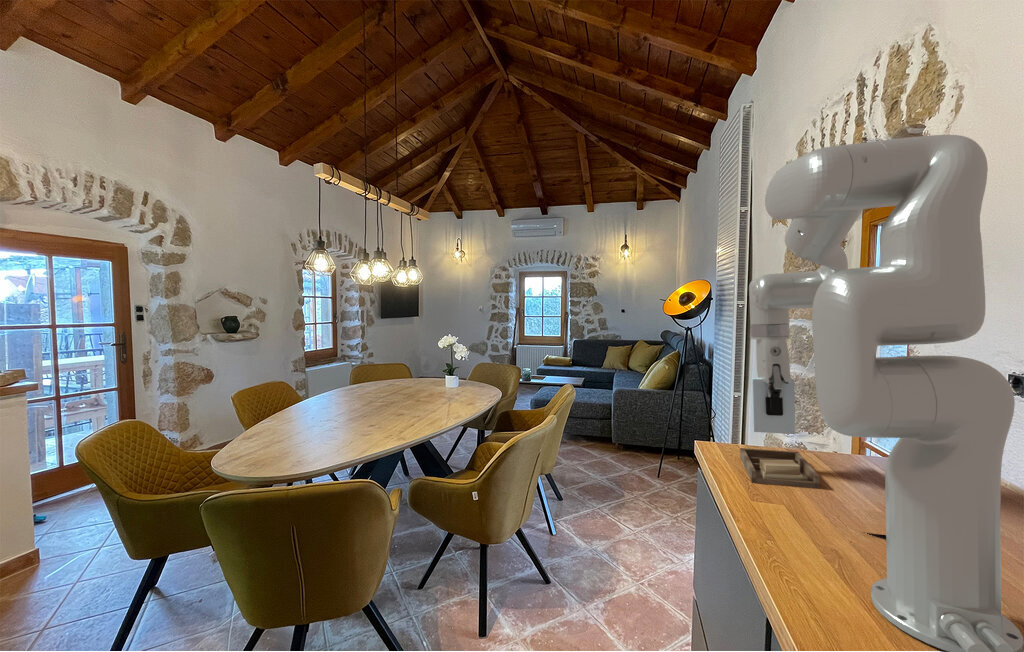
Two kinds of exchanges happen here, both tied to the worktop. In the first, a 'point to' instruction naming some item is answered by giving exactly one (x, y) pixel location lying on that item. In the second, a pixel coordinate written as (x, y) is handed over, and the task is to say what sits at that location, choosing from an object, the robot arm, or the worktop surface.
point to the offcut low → (782, 476)
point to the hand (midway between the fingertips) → (772, 412)
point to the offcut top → (780, 467)
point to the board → (772, 422)
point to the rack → (753, 457)
